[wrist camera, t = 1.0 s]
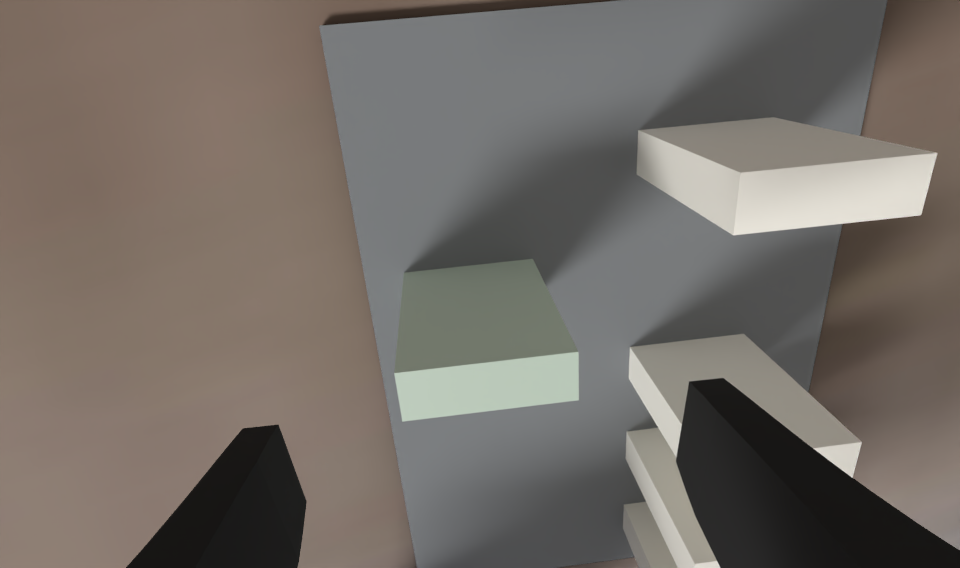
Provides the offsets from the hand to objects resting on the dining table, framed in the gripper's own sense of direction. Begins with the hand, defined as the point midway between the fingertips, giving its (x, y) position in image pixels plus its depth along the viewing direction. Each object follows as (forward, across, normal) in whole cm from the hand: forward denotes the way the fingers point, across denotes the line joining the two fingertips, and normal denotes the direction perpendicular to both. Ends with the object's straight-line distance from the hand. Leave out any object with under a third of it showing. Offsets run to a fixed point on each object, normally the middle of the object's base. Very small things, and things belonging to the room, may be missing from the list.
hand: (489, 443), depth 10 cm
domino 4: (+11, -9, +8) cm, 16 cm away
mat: (+12, -6, +7) cm, 15 cm away
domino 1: (+11, 0, +4) cm, 12 cm away
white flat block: (+12, -9, -1) cm, 15 cm away
